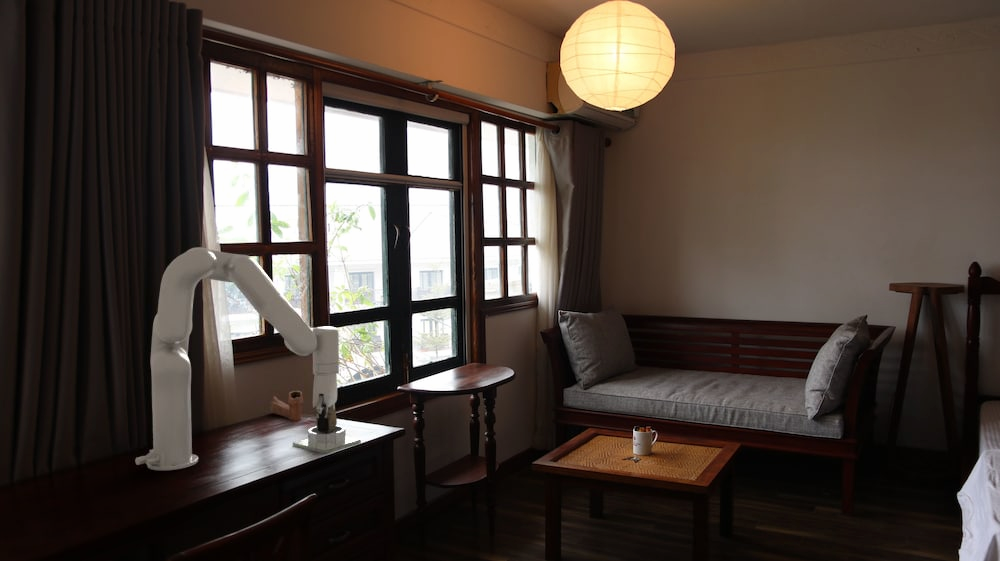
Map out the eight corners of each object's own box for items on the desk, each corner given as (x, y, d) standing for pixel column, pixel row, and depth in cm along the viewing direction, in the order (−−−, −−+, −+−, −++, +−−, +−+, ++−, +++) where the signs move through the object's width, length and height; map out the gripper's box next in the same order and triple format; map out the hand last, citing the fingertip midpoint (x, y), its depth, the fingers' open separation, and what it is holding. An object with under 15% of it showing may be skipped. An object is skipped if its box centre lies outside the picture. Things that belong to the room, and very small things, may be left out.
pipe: (293, 423, 240) (292, 393, 239) (266, 414, 253) (266, 386, 252) (306, 420, 243) (306, 391, 243) (279, 411, 256) (279, 384, 256)
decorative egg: (331, 437, 210) (330, 403, 210) (312, 436, 212) (312, 402, 211) (340, 432, 216) (339, 399, 216) (322, 431, 218) (321, 398, 217)
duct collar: (325, 453, 204) (325, 438, 204) (292, 446, 212) (292, 431, 212) (360, 442, 216) (360, 427, 216) (328, 435, 224) (328, 421, 224)
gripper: (322, 363, 222) (322, 420, 223) (304, 373, 205) (304, 435, 205) (345, 363, 221) (346, 421, 222) (330, 373, 204) (330, 435, 205)
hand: (326, 427), depth 214 cm, fingers closed on decorative egg, 6 cm apart
